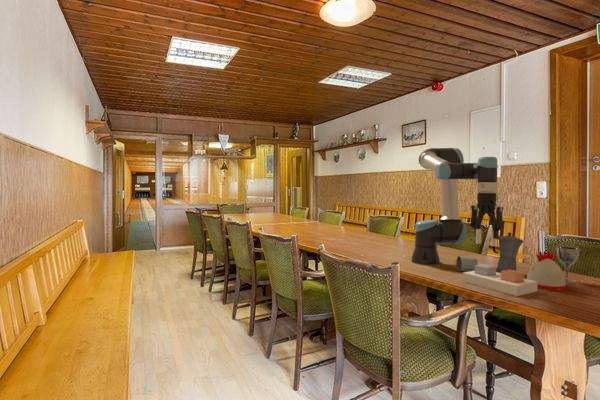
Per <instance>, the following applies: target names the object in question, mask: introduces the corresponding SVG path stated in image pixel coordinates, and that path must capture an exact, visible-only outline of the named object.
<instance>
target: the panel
mask: <svg viewBox="0 0 600 400" xmlns="http://www.w3.org/2000/svg"><path fill="white" fill-rule="evenodd" d="M462 282H463V283H467V284H470V285H474V286H477V287H481V288H485V289H488V290H492V291H496V292H499V293H504V294H507V295H510V296H515V297H519V296H522V295H523V296H524V295H528V294H532V293H535V292H538V288H537V281H533V280H528V279H527V278H524V281H522V282H517V283H513V282H509V281H505V280H501V273H499V272H497V271H496V275H491V276H485V275H481V274H476V273H475V271H463V272H462Z"/></svg>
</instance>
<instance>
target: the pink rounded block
mask: <svg viewBox="0 0 600 400" xmlns="http://www.w3.org/2000/svg"><path fill="white" fill-rule="evenodd" d="M524 279H525V272H524V271H519V270H517V271H515V270H510V269H509V270H504V271H501V280H505V281H509V282H513V283H517V282H522V281H524Z"/></svg>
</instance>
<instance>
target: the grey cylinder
mask: <svg viewBox="0 0 600 400" xmlns="http://www.w3.org/2000/svg"><path fill="white" fill-rule="evenodd" d="M455 262H456V263H455V265H456V270H457V271H458V272H469V271H475V265H479V263H478V260H477V258H476V257H474V256H468V255H467V256H465V255H458V256H457V258H456V261H455Z"/></svg>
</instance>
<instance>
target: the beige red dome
mask: <svg viewBox="0 0 600 400" xmlns="http://www.w3.org/2000/svg"><path fill="white" fill-rule="evenodd" d="M538 253H539V254H535V256H536V258H537V261H535V262H534V263H533V264H532V265H531V267H530V269H529V271H528V274H527V276H526V279H528V280H533V281H537V289H540V290H546V291H564V290H566V288H567V282H565V278H566V277H565V276H564V272H563V271H562V269H561V267H560V265H559V264H558V263H557V262H556V260H557V256H556V255H555V256H554V253H550V250H547V251H545V250H543V253H542V251H539V252H538Z"/></svg>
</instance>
